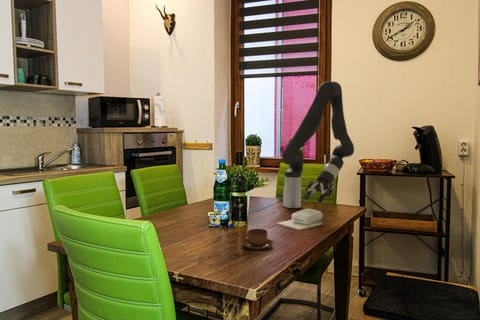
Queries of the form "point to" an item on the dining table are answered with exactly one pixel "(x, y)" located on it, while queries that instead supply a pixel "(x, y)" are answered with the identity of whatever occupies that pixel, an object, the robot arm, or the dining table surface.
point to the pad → (299, 224)
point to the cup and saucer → (257, 239)
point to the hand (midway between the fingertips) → (312, 200)
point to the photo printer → (307, 216)
